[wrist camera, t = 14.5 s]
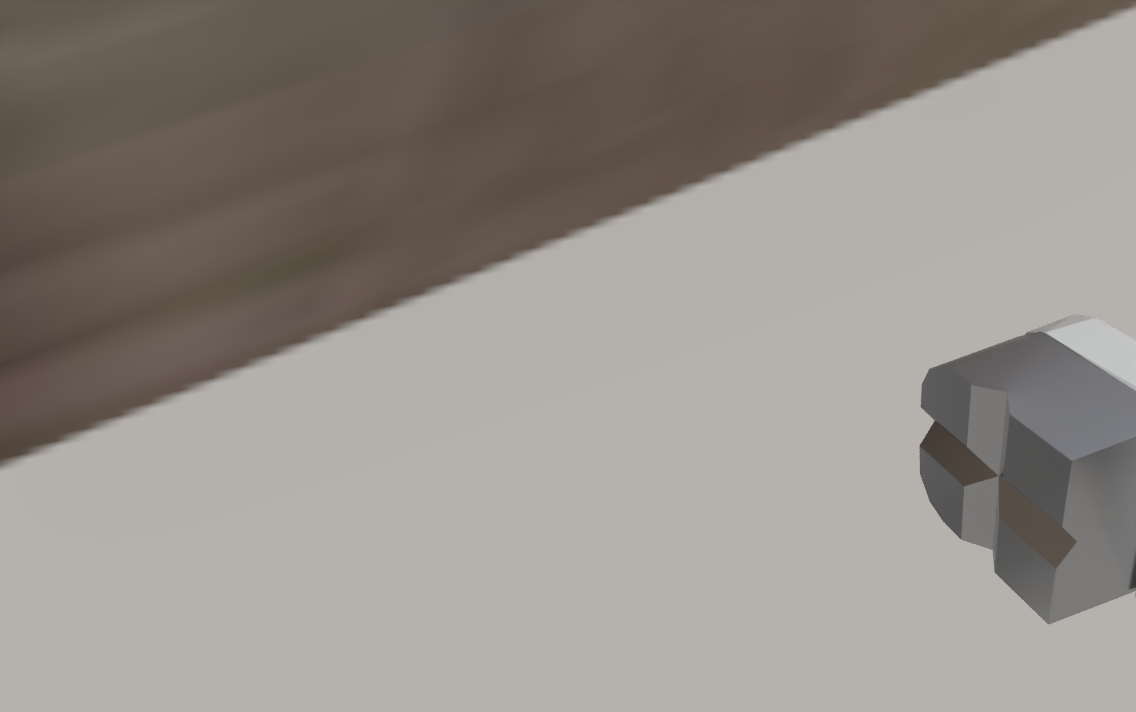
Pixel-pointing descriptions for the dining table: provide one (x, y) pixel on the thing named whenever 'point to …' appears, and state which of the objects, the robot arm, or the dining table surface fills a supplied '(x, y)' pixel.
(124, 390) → the dining table surface
